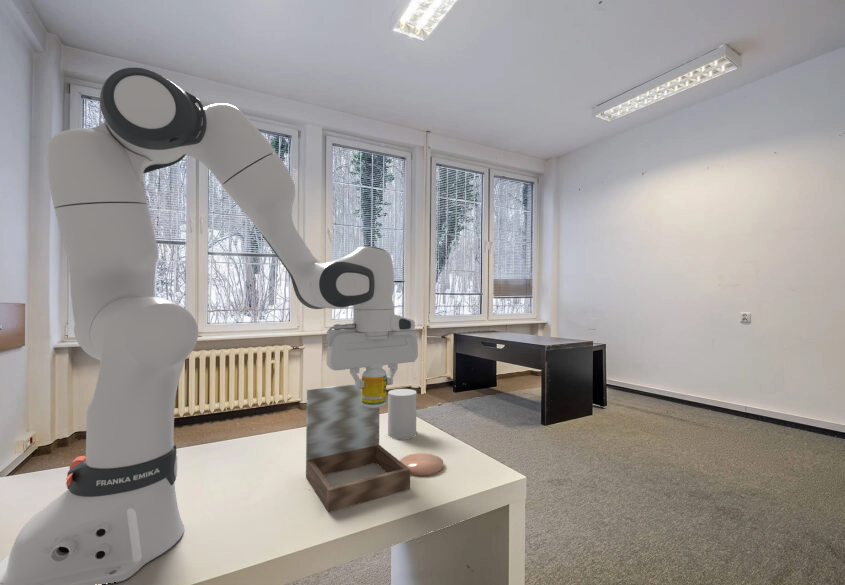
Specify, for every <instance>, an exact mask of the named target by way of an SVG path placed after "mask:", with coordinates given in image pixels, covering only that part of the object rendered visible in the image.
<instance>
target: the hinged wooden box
mask: <svg viewBox="0 0 845 585" xmlns="http://www.w3.org/2000/svg"><path fill="white" fill-rule="evenodd" d="M361 399H362V389H356V388H355V383H352V384H351V383H350V384H341V385H332V386H326V387H324V386H323V387H317V388H315V387H314V388H308V389H306V421H305V422H306V424H305V426H306V429H305V430H306V434H305V439H306V440H305V443H306V444H305V445H306V446H305V447H306V449H305V460H306V461H305V478H306V480H307V481H308V483H309V484H310V486H311V488H312V489H313V490H314V492H315V494H316V496H317V497H318V500H320V502H321V503H322V505H323V506H324V508H325V509H326V511H327V513H332V512H335V511H339V510H342V509H347V508H349V507H350V508H351V507H353V506H356V505H361V504H363V503H368V502H371V501H373V500H378V499H380V498H384V497H388V496H391V495H394V494H398V493H402V492H405V491H408V490H409V491H410V490H411V475H410V469H409V468H408V467H407V466H405V465H404V464H403V463H402V462H400V461H401V460H399V459H398V458H397V457H396V456H394V455H393V454H392V453H391V452H389V451H388V450H387V449H385V448H384V447H382V446H381V445H380V408H381V407H377V408H368V407H364V406H363V405H362V400H361ZM374 464H376V465H377V466H378V467H379V468H381V470H383V471H384V472H385V473H381V474H378V475H372V476H370V477H367V478H361V479H358V480H353V481H350V482H346V483H343V484H342V483H340V484H339V485H333V486H332V484H331V483H330V482H329V481H328V479H327V478H326V477H325V476H326V475H330V474H335V473H339V472H343V471H347V470H352V469H355V468H356V469H357V468H359V467H365V466H369V465H374Z"/></svg>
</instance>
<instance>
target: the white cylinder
mask: <svg viewBox="0 0 845 585" xmlns="http://www.w3.org/2000/svg"><path fill="white" fill-rule="evenodd" d="M415 435H416V436H417V390H414V389H412V388H411V389H410V388H397V389H391V390H388V392H387V436H388V437H389V436H390V437H389V438H391V437H392V438H391V439H394V438H395V439H394V440H409V439H413V438H415V437H416V436H415ZM414 436H415V437H414ZM412 437H413V438H412ZM408 438H409V439H408Z"/></svg>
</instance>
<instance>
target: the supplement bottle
mask: <svg viewBox="0 0 845 585" xmlns="http://www.w3.org/2000/svg"><path fill="white" fill-rule="evenodd" d="M383 367H384V365H382V364H381V361H379V362H374V364H373V366H371V367H364V368H365V369H363V371H361V374H360V375H361V378H360V379H362V380H364V388H363V389H362V399H361V400H362V405H363V406H364V407H368V408H377V407H380V408H382V407H384V406H385V405H386V404H387V385H386V376H387V371H386V370H385V369H384V368H383Z"/></svg>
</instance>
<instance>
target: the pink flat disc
mask: <svg viewBox="0 0 845 585" xmlns="http://www.w3.org/2000/svg"><path fill="white" fill-rule="evenodd" d="M399 461H400V462H402V463H403V464H404V465H405V466H407V467H408V468H409V469H410V476H416V477H429V476H430V477H431V476H433V475H436V474H439V473H441V472H442V471H443V469H444V460H443V459H442V458H441V457H440V456H438V455H436V454H432V453H424V452H417V453H412V454H411V453H410V454H407V455H406V456H404V457H403V456H402V458H401V459H400V460H399Z"/></svg>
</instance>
